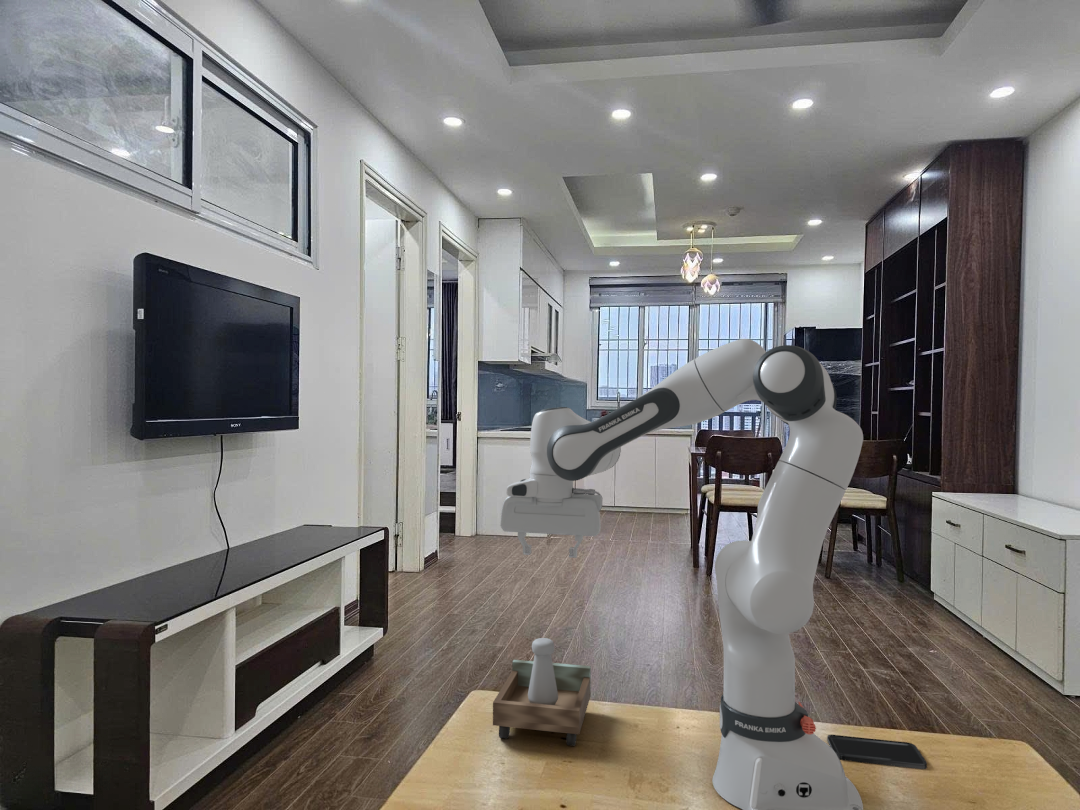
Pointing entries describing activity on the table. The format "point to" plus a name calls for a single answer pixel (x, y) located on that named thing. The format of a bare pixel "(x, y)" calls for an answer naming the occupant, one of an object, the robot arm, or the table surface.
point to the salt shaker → (543, 674)
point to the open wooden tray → (560, 717)
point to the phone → (877, 751)
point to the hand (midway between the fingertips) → (549, 555)
